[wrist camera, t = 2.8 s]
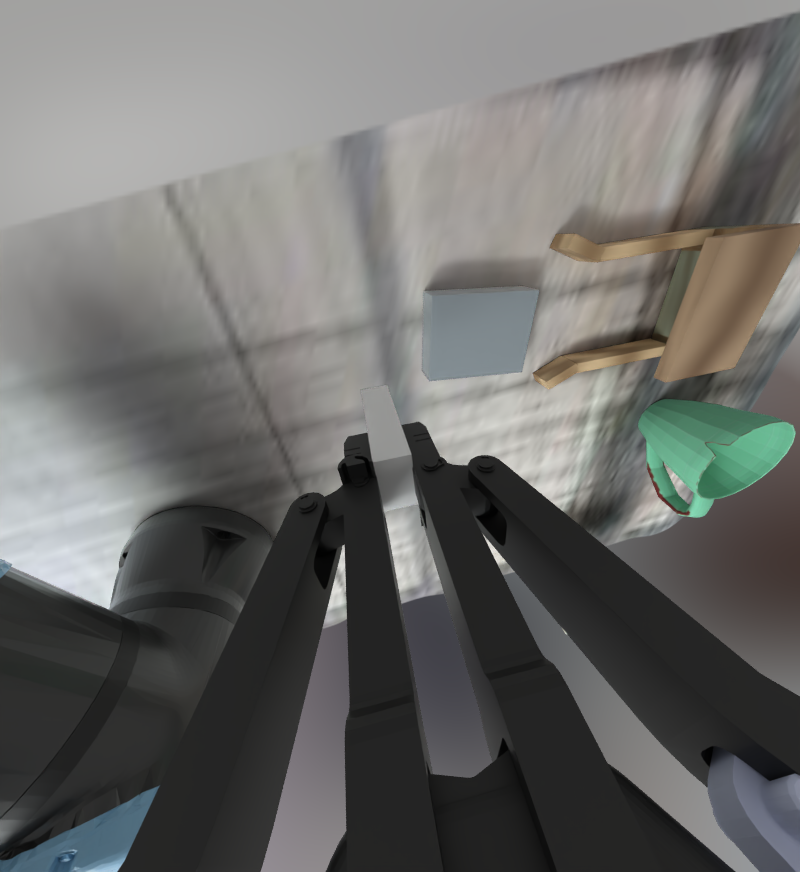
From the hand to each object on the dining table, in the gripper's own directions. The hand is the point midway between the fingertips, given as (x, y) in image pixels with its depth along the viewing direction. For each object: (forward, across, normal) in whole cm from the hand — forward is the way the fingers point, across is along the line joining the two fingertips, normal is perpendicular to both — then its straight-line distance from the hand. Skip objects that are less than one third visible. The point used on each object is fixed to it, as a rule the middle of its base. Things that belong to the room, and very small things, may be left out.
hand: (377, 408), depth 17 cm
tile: (+12, +10, 0) cm, 16 cm away
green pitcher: (+12, +35, -18) cm, 41 cm away
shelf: (+12, +24, 0) cm, 27 cm away
